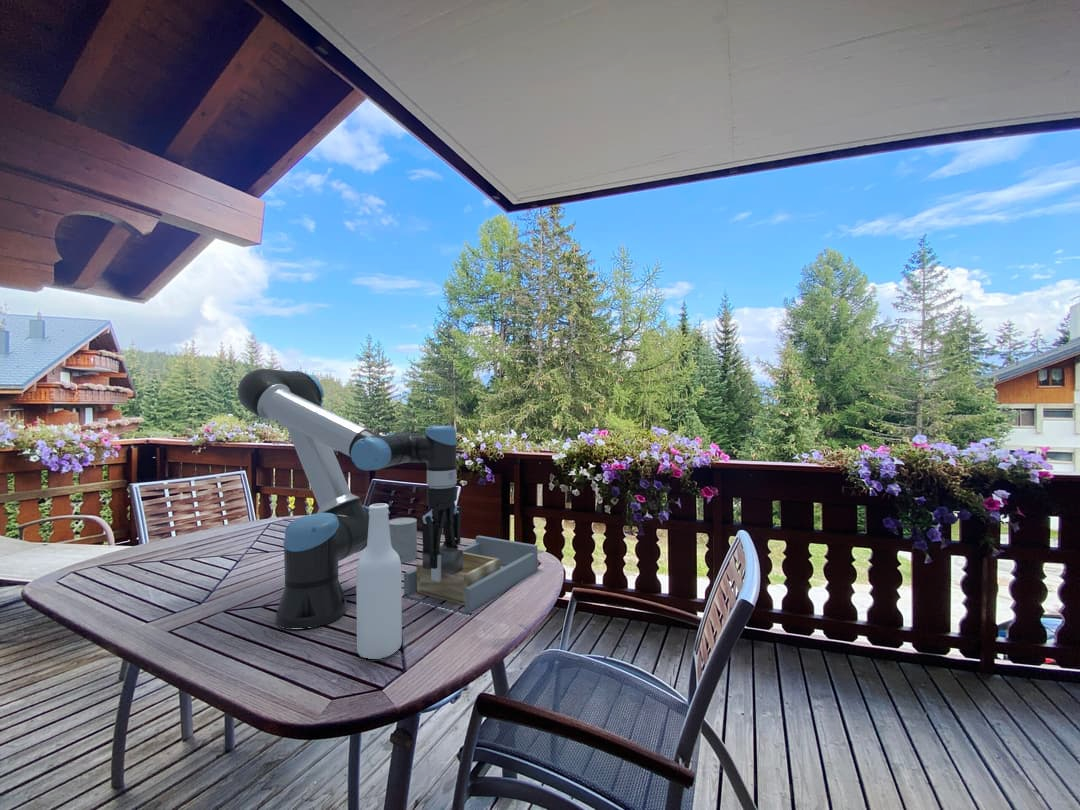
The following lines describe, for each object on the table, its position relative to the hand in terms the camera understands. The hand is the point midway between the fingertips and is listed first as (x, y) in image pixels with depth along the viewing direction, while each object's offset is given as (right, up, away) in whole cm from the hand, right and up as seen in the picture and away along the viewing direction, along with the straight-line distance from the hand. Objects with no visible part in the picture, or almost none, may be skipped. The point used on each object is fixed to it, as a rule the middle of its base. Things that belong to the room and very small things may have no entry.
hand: (442, 577), depth 117 cm
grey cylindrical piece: (-21, -7, +36) cm, 42 cm away
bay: (+7, -7, +12) cm, 15 cm away
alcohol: (-8, -7, -22) cm, 25 cm away
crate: (+3, -5, +6) cm, 8 cm away
